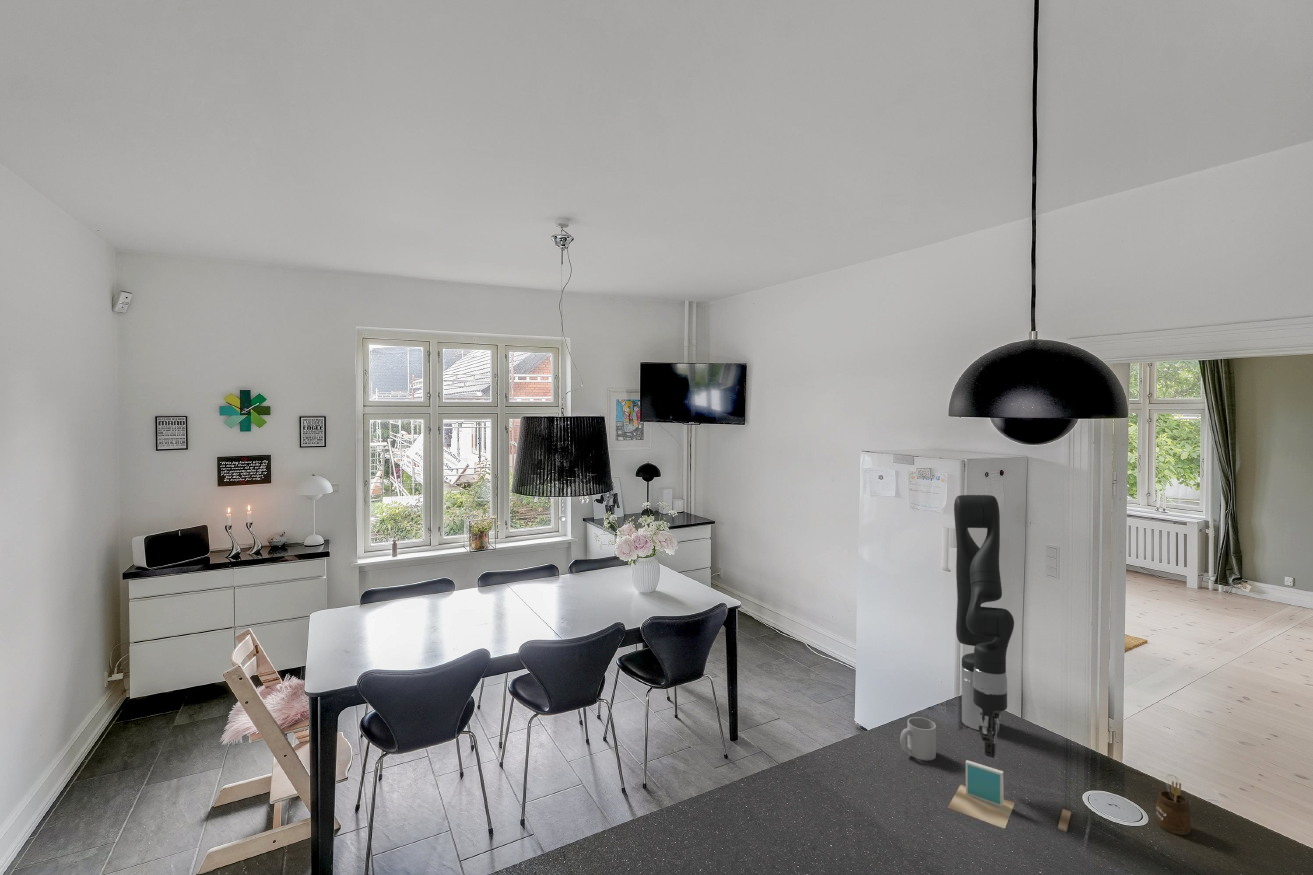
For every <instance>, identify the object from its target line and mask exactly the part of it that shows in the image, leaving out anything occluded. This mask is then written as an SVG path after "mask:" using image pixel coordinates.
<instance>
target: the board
mask: <svg viewBox="0 0 1313 875" xmlns="http://www.w3.org/2000/svg"><path fill="white" fill-rule="evenodd" d="M1003 799H1004V798H1003ZM1015 804H1016V803H1015V802H1013V801H1010V800H1008V799H1004V805H1003V807H1001V806H998V805H995V804H992V803H990V802H987V801H984V800H981V799H978V798H975V797H972V796H970V795H967V794H966V785H964V784H959V786H958V788H957V790H956V792H955V794H954V795H953V797H952V799H951V801H949V804H948V806H947V808H948V809H950V810H953V811H955V812H957V813H961V814H964V815H967V816H969V817H972V818H975V819H976V820H980V821H983V822H984V823H985V822H986V823H988V824H991V825H993V826H996V827H999V828H1001V829H1006V827H1007V825H1008V821H1009V819H1010V818H1011V814H1012V811H1013V809H1014V806H1015Z"/></svg>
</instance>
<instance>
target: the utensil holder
mask: <svg viewBox="0 0 1313 875" xmlns="http://www.w3.org/2000/svg"><path fill="white" fill-rule="evenodd" d="M1168 776H1169V777H1168ZM1171 777H1173V778H1175V779H1176V781H1174V780H1171V782H1170V781H1169V780H1170V779H1167V784H1166V785H1165V786H1166V790H1165V789H1164V790H1160V791H1159V792H1158V799H1157V801H1156V806H1155V807H1156V808H1155V810H1156V812H1155V814H1156V816H1155V818H1156V819H1155V820H1156V822H1157V824H1158V826H1159V827H1160V828H1161V829H1164V830H1165V831H1167V832H1168V833H1171V834H1173V835H1178V836H1187V835H1189V834H1190V833H1191V827H1192V824H1191V823H1192V815H1191V811H1190V808H1189V806H1190V805H1189V801H1188V798H1186V797H1185V796H1184V795H1183V794H1181V791H1182V783H1181V782H1180V781H1179V779H1178V777H1177V776H1176V775H1174V774H1171V773H1170V774H1168V775H1166V778H1171ZM1169 782H1170V783H1171V790H1170V788H1168V787H1169V784H1170V783H1169Z"/></svg>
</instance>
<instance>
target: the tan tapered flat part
mask: <svg viewBox="0 0 1313 875" xmlns="http://www.w3.org/2000/svg"><path fill="white" fill-rule="evenodd" d="M1071 815H1072V811H1071V810H1068V809H1065V808H1062V810H1061V813H1060V818H1059V822H1058V826H1057V829H1058V830H1060V831H1063V832H1066V833H1067V831H1068V828H1069V824H1070V819H1071Z"/></svg>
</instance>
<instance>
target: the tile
mask: <svg viewBox="0 0 1313 875" xmlns="http://www.w3.org/2000/svg"><path fill="white" fill-rule="evenodd" d="M965 786H966V794H967V795H970V796H972V797H975V798H978V799H981V800H984V801H987V802H990V803H992V804H995V805H998V806H1001V807H1003V805H1004V770H1000V769H997V768H994V767H990V766H987V765H984V764H980V763H978V762H975V761H971V760H968V759H966V760H965Z"/></svg>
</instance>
